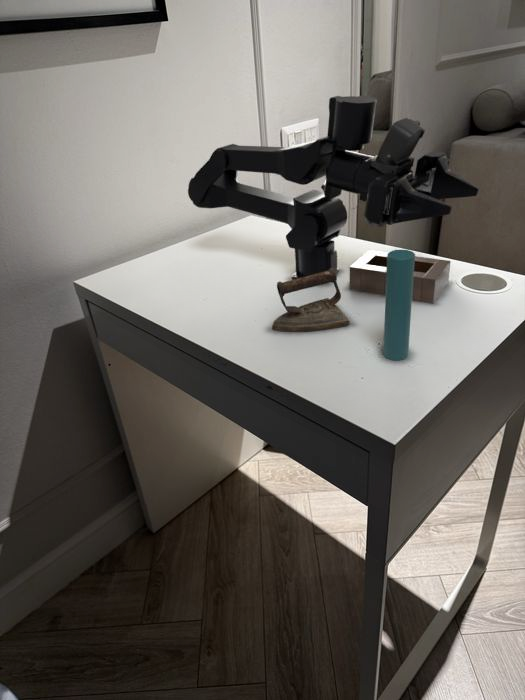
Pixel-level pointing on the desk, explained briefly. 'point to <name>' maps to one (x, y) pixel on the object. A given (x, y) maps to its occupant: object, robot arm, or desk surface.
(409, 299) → the peg
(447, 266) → the peg block
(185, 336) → the desk surface
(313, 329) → the clothes iron
